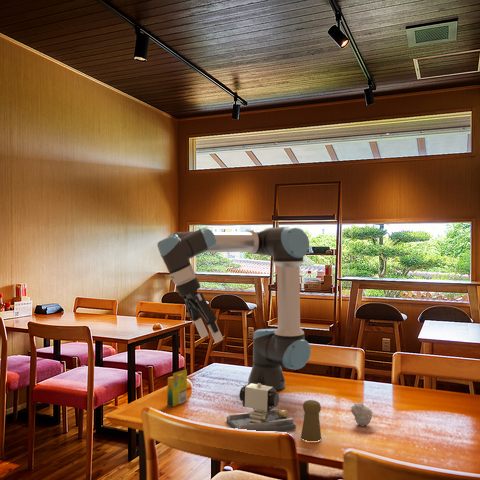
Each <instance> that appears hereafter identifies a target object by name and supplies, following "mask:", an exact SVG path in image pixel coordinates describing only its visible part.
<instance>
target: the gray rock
mask: <svg viewBox="0 0 480 480" xmlns="http://www.w3.org/2000/svg"><path fill="white" fill-rule="evenodd" d="M350 409H351V410H350V411H351V413H352V415H353V416H354V421H355V422H356V423H357V425H359V426H361V425H366V426H368V425H369V424H370V423H371V421H372V420H373V419H372V418H373V413H374V412H373V411H372V410H371V408H369V407H368V406H365V405H364V404H363V403H362V402H355V403H354V404H353V405H351V406H350Z"/></svg>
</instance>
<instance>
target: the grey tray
mask: <svg viewBox="0 0 480 480" xmlns="http://www.w3.org/2000/svg"><path fill="white" fill-rule="evenodd" d="M250 412H251V411H248V412H238V413H229V414H228V416H226V423H227V424H228V425H229V426H230V427H231V428H232V429H234V428H238V429H247V430H256V431H283V432H287V431H295V430H294V429H297V424H295V423H294V418H293V417H289V418H288V416H289V413H288V410H287V409H282V410H281V408H273V409H272V410H270V411H266V413H265V414H267V415H268V419H267V421H265V422H257V423H252V422H251V419H250Z"/></svg>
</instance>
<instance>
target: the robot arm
mask: <svg viewBox="0 0 480 480" xmlns="http://www.w3.org/2000/svg"><path fill="white" fill-rule="evenodd" d="M156 244H157V245H156V246H157V249H158V251H159V254H160V257H161V259H162V260H163V263H164V264H165V267H166V269H167V271H168V272H169V276H170V278H169V279H170V280H171V281H172V282H173V284H174V285H175V289H176V290H177V293H178V295H179V297H182V298H183V300H184V303H185V307H186V310H187V313H188V316H189V319H190V320H192V321H193V323H194V325H195V327H196V330H197V333H198V334H199V336H200V338H201V339H202V340H203V339H204V338H206V337H208V336H209V332H208V330H207V328H208V329H209V331H210V335H211V336H212V339H213V341H214V343H215V344H217V343H219V342H221V341H223V340H224V337H223V335H222V333H221V331H220V328H219V326H218V324H217V322H216V320H217V319H218V318H217V315H216V314H215V313H214V311H213V310H212V308H211V306H210V305H209V303H208V302H207V301H206V298H205V297H204V295H203V293H202V292H200V293H198V290H199V289H200V288H201V284H200V281H199V279H198V277H196V271H194V268H193V265H192V264H191V262H190V259H192V258H195V257H196V256H198V255H200V254H202V253H235V252H236V253H240V252H241V253H243V252H246V253H248V254H250V255H262V256H268V257H272V262H273V264H274V265H276V269H277V270H276V278H277V279H276V280H277V283H276V284H277V287H276V288H277V289H276V290H277V292H276V293H277V328H261V329H256V330H255V331H254V332H253V336H252V337H253V339H252V342H253V343H252V368H251V370H250V373H249V377H248V379H247V381H248V382H247V384H249V383H253V384H258V383H261V385H266V386H270V387H275V391H276V392H277V391H281V390H283V389H285V387H286V380H285V376H284V372H283V368H286V369H289V370H290V369H291V370H295V371H296V370H300V369H302V368H304V367H305V365H306V364H307V363H308V362H309V360H310V357H311V353H312V352H311V351H312V349H311V345H310V343H309V341H307V340H306V339H305V331H304V330H303V329H302V328H301V303H300V302H301V293H300V292H301V291H300V290H301V289H300V288H301V287H300V277H301V276H300V266H301V265H302V264H303V263H304V257H305V256H306V255H307V254H308V251H309V250H310V240H309V236H308V235H307V233H306V232H305V231H304V230H303V229H302V228H301V227H299V226H298V227H297V226H290V225H289V226H278V227H269V228H262V229H249V230H248V231H247V232H223V231H222V232H219V231H218V232H215V231H213V230H212V229H211V228H210V227H207V226H204V227H202V228H199V229H198V230H195V231H194V230H193V231H175V232H172V233H170V234H169V236H167V237H166V238H163V239H161V240H159V241H158V242H157V243H156ZM202 318H203V319H202ZM203 320H205V323H204V321H203ZM205 325H206V326H207V328H206V326H205ZM282 367H283V368H282Z"/></svg>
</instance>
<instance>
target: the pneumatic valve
mask: <svg viewBox="0 0 480 480" xmlns="http://www.w3.org/2000/svg"><path fill="white" fill-rule="evenodd" d="M238 396H239V400H240V401H241V402H242V407H245V408H248V409H249V408H250V409H252V410H251V411H249V412H250V419H251V422H252V423H257V422H265V421H267V419H268V415H267V414H265V413H266V411H270V410H272V409H275V408H277V407H278V406H279V401H280V394H279V393H278V392H277V390H276V391H275V387H270V386H266V385H261V383H258V384H253V383H249V384H248V383H247V384H246V385H244V386H242V387H241V389H240V391H239V395H238Z"/></svg>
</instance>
